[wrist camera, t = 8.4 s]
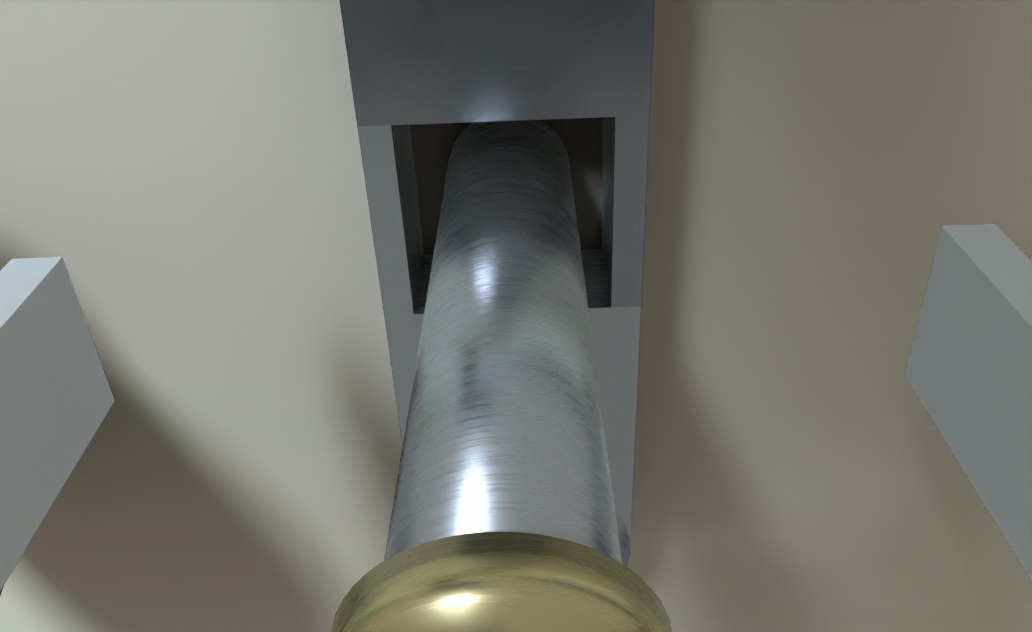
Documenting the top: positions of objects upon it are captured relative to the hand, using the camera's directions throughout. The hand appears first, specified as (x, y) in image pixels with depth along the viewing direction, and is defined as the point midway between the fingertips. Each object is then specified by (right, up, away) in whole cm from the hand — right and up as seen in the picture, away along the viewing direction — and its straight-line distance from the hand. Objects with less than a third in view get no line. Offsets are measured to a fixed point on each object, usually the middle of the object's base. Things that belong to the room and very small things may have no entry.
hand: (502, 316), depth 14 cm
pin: (0, +3, +5) cm, 6 cm away
